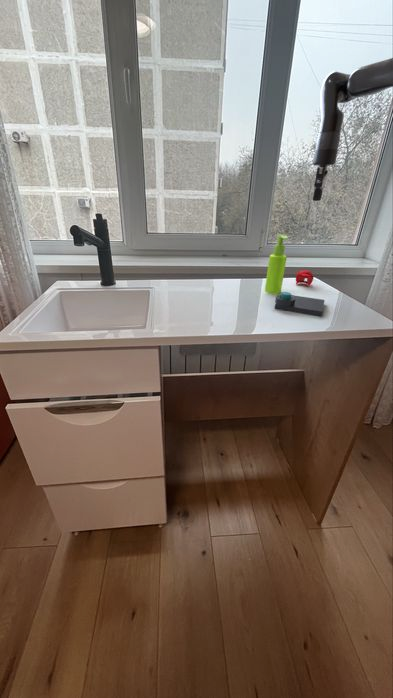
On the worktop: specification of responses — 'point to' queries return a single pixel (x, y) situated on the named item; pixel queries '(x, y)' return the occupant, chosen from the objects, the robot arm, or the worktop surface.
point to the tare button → (286, 295)
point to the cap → (302, 275)
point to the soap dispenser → (276, 267)
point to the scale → (300, 305)
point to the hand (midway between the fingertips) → (316, 200)
